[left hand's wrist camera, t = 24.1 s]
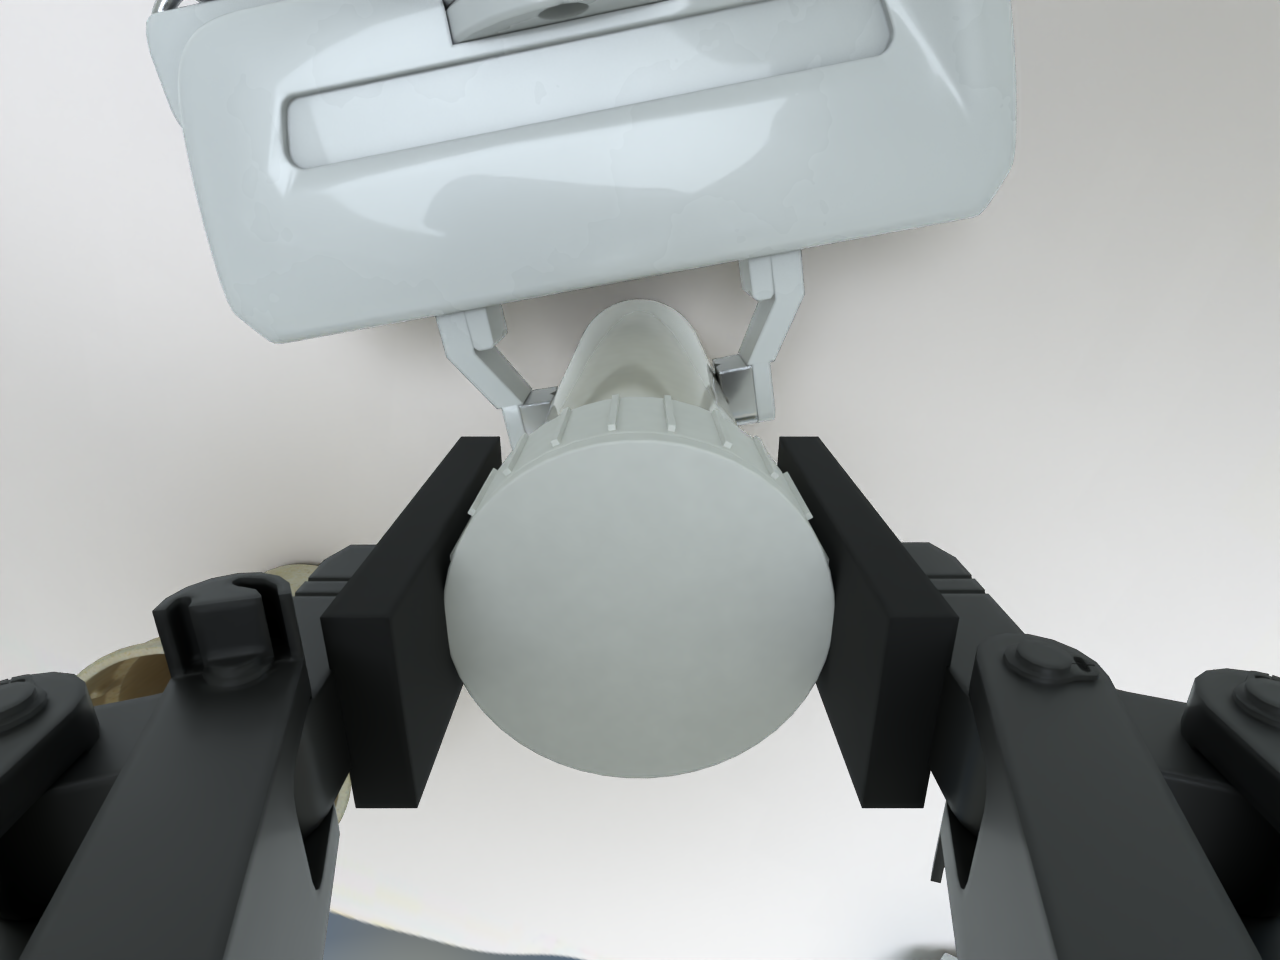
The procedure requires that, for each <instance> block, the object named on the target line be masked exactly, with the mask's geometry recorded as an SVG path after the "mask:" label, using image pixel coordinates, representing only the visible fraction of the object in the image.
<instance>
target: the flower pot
mask: <svg viewBox="0 0 1280 960" xmlns="http://www.w3.org/2000/svg"><path fill="white" fill-rule="evenodd" d="M317 567H318V566H316V565H307V564H292V565H285V566H281V567H277V568H274V569H272V570H269V571H267V572H265V573H267V574H273V575H278V576H280V577H282V578H283V579H285V580H286V581H288V582H289V583H290V587H291V592H292V596H295V592H296V591H297V590H298V589H299V587H300V586H301V585H302V584H303V583H304V582H305V581H308V577H309V576H310V575H311V574H312V573H313V572H314V571H315V570H316V569H317ZM77 677H79V678H80V679H82V680H83V681H85V683H86V686H87V689H88V692H89V695H90V698H91V701H92V704H93V706H98V705H103V704H108V703H114V702H119V701H124V700H129V699H135V698H140V697H145V696H150V695H155V694H159V693H163V692H164V690H165V688H166V686H167V684H168V683H169V681H170V679H171V675H170V672H169V668H168V665H167V661H166V658H165V654H164V651H163V647H162V644H161V640H160V637H158V638H155V639H152V640H150V641H148V642H146V643H142V644H137V645H133V646H129V647H126V648H122V649H119V650H117V651H115V652H112V653H110V654H108V655H106V656H104V657H102V658H100V659H98V660H97V661H95V662H94V663H92V664H91V665H89V666H87V667H86V668H85V669H84V670H82V671H81V672H80V673H79V674H78V675H77ZM350 791H351V780H350V775H349V774H348V776H347V778H346V780H345V782H344V784H343V786H342V788H341V790H340V791H339V793H338V795H337V797H336V799H335V801H334V803H335V808H336V813H337V818H338V824H339V822H340V821H341V819H342V817H343V815H344V812H345V810H346V807H347V804H348V800H349V796H350Z"/></svg>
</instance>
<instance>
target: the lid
mask: <svg viewBox="0 0 1280 960" xmlns="http://www.w3.org/2000/svg"><path fill="white" fill-rule="evenodd" d="M468 514H469V515H471V518H470V519H469V521H468V523H467V525H466V527H465V528H464V530H463V532H462V534H461V536H460V538H459V539H458V541H457V543H456V545H455V547H454V548H453V550H452V552H451V554H450V561H451V562H450V565H449V568H448V572H447V577H446V582H445V587H444V605H445V615H446V624H447V632H448V641H449V648H450V655H451V658H452V660H453V663H454V665H455V667H456V670H457V672H458V674H459V677H460V679H461V680H462V682H463V684H464V685H465V687H466V689H467V690H468V692H469V694H470V695H471V697H472V698H473V699H474V701H475V702H476V703H477V704H478V706H479V707H480V708H481V709H482V711H483V712H484V713H485V714H486V715H487V716H488V717H489V718H490V719H491V720H492V721H493V722H494V723H495V724H496V725H497V726H498V727H499V728H500V729H501V730H503V731H504V732H505V733H507V734H508V735H509V736H511V737H512V738H513V739H515V740H516V741H517V742H518V743H520V744H522V745H523V746H525V747H527V748H529V749H530V750H532V751H534V752H535V753H537V754H539V755H541V756H543V757H545V758H548V759H550V760H552V761H554V762H557V763H559V764H562V765H565V766H568V767H571V768H574V769H577V770H580V771H584V772H589V773H594V774H598V775H603V776H612V777H621V778H656V777H667V776H675V775H680V774H685V773H690V772H694V771H698V770H701V769H704V768H707V767H711V766H714V765H717V764H719V763H722V762H724V761H726V760H728V759H731V758H733V757H735V756H738V755H739V754H741V753H743V752H745V751H746V750H748V749H750V748H752V747H753V746H755V745H757V744H758V743H760V742H761V741H762V740H764V739H765V738H766V737H768V736H769V735H770V734H772V733H773V732H774V731H776V730H777V729H778V728H779V727H780V726H781V725H782V724H783V723H784V722H785V721H786V720H787V719H788V718H789V717H791V716H792V714H793V713H794V712H795V711H796V710H797V708H798V707H799V706H800V705H801V703H802V702H803V701H804V700H805V699H806V697H807V695H808V694H809V692H810V691H811V689H812V687H813V686H814V684H815V682H816V681H817V679H818V677H819V675H820V672H821V670H822V668H823V666H824V663H825V661H826V658H827V655H828V651H829V648H830V642H831V634H832V625H833V617H834V606H835V594H834V588H833V582H832V577H831V571H830V568H829V558H828V556H827V554H826V552H825V551H824V549H823V547H822V545H821V543H820V541H819V539H818V538H817V536H816V534H815V532H814V530H813V528H812V526H811V525H810V523H809V521H808V520H809V519H811V518H813V516H812V514H811V513H810V511H809V509H808V507H807V506H806V504H805V502H804V500H803V498H802V497H801V495H800V493H799V491H798V490H797V488H796V486H795V484H794V482H793V481H792V479H791V477H790V475H789V474H788V472H785V473H783V474H782V472H781V470H780V469H779V467H778V466H777V465H776V463H775V462H774V461H773V459H772V458H771V456H770V455H769V454H768V452H767V450H766V448H765V447H764V445H763V443H762V441H761V439H760V438H759V437H758V436H755V437H754V438H752V437H751V436H749V435H748V434H747V433H746V432H744V431H743V430H742V429H740V428H739V427H738V426H736V425H735V424H733V423H731V422H730V421H728V420H726V419H724V418H723V417H722V416H721V413H720V411H718V410H716V409H714V410H713V412H710V411H708V410H705V409H703V408H701V407H698V406H695V405H691V404H688V403H684V402H680V401H677V400H672V399H671V396H670V395H664V399H663V398H656V397H623V398H619V394H615V395H612V399H607V400H602V401H598V402H594V403H591V404H587V405H583V406H581V407H578V408H576V409H573V410H571V411H570V409H569V407H567V408H565V409H563V410H562V413H561V415H559V416H558V417H556V418H554V419H552V420H550V421H549V422H547V423H545V424H543V425H542V426H541V427H539V428H538V429H537V430H535V431H534V432H533V433H531V434H530V435H528V434H527V433H524V434H523V435H522V436H521V437H520V439H519V441H518V443H517V445H516V447H515V449H514V450H513V451H512V452H511V453H510V455H509V456H508V457H507V459H506V460H505V461H504V462H503V464H502V465H501V466H500V468H499V469H498V470H496V469H495V468H493V469H492V471H491V473H490V474H489V476H488V478H487V480H486V481H485V483H484V485H483V487H482V488H481V490H480V492H479V494H478V495H477V497H476V499H475V501H474V502H473V504H472V506H471V508H470V510H469V511H468Z"/></svg>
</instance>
